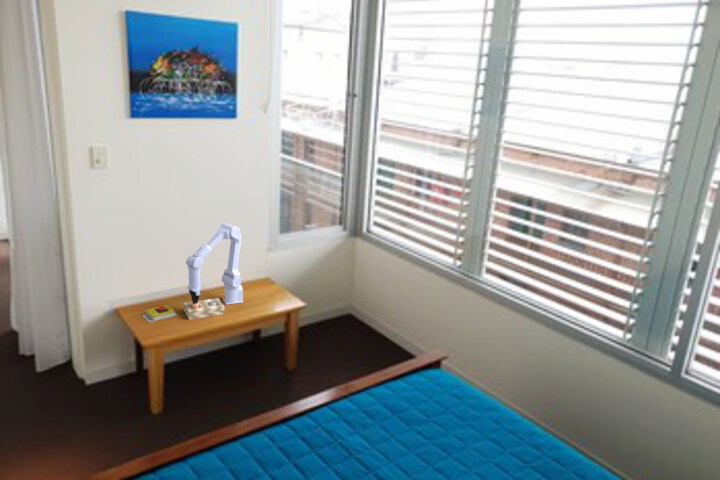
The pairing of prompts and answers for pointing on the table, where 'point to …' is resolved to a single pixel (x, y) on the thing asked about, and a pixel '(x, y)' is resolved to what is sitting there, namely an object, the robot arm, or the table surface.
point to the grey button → (212, 303)
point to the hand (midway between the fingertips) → (195, 303)
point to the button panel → (204, 309)
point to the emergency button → (159, 313)
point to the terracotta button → (194, 305)
